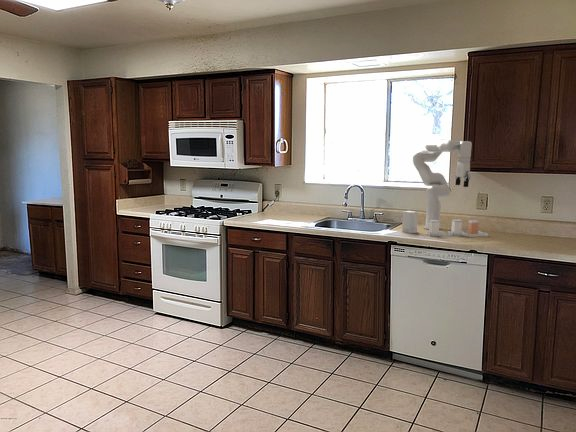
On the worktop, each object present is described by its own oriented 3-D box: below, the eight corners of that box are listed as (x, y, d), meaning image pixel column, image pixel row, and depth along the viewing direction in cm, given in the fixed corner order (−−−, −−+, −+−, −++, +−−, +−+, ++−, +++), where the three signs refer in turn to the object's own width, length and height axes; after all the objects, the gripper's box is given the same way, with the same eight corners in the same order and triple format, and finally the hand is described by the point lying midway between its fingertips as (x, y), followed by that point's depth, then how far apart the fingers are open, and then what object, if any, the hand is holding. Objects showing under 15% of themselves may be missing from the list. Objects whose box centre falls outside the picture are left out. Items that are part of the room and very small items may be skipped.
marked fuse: (467, 235, 310) (468, 220, 308) (474, 235, 310) (475, 220, 309) (470, 236, 306) (471, 221, 304) (477, 236, 307) (478, 221, 305)
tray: (457, 235, 314) (458, 230, 313) (476, 234, 316) (476, 230, 315) (468, 239, 300) (469, 234, 300) (488, 238, 303) (488, 234, 302)
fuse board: (424, 236, 308) (424, 230, 307) (457, 235, 312) (458, 229, 311) (431, 239, 298) (431, 233, 297) (465, 238, 302) (466, 232, 301)
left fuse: (428, 235, 305) (429, 220, 303) (435, 234, 306) (436, 219, 304) (431, 236, 301) (432, 221, 299) (438, 236, 302) (439, 220, 300)
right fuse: (451, 234, 307) (452, 219, 306) (458, 234, 308) (459, 219, 307) (454, 235, 303) (455, 220, 302) (461, 235, 304) (462, 220, 303)
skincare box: (417, 234, 314) (418, 211, 312) (410, 235, 311) (411, 212, 309) (408, 232, 322) (409, 210, 319) (401, 233, 318) (402, 210, 316)
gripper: (452, 159, 314) (449, 184, 317) (466, 161, 297) (463, 187, 300) (462, 159, 315) (459, 184, 318) (476, 161, 298) (474, 187, 302)
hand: (461, 185), depth 309 cm, fingers open, 9 cm apart
